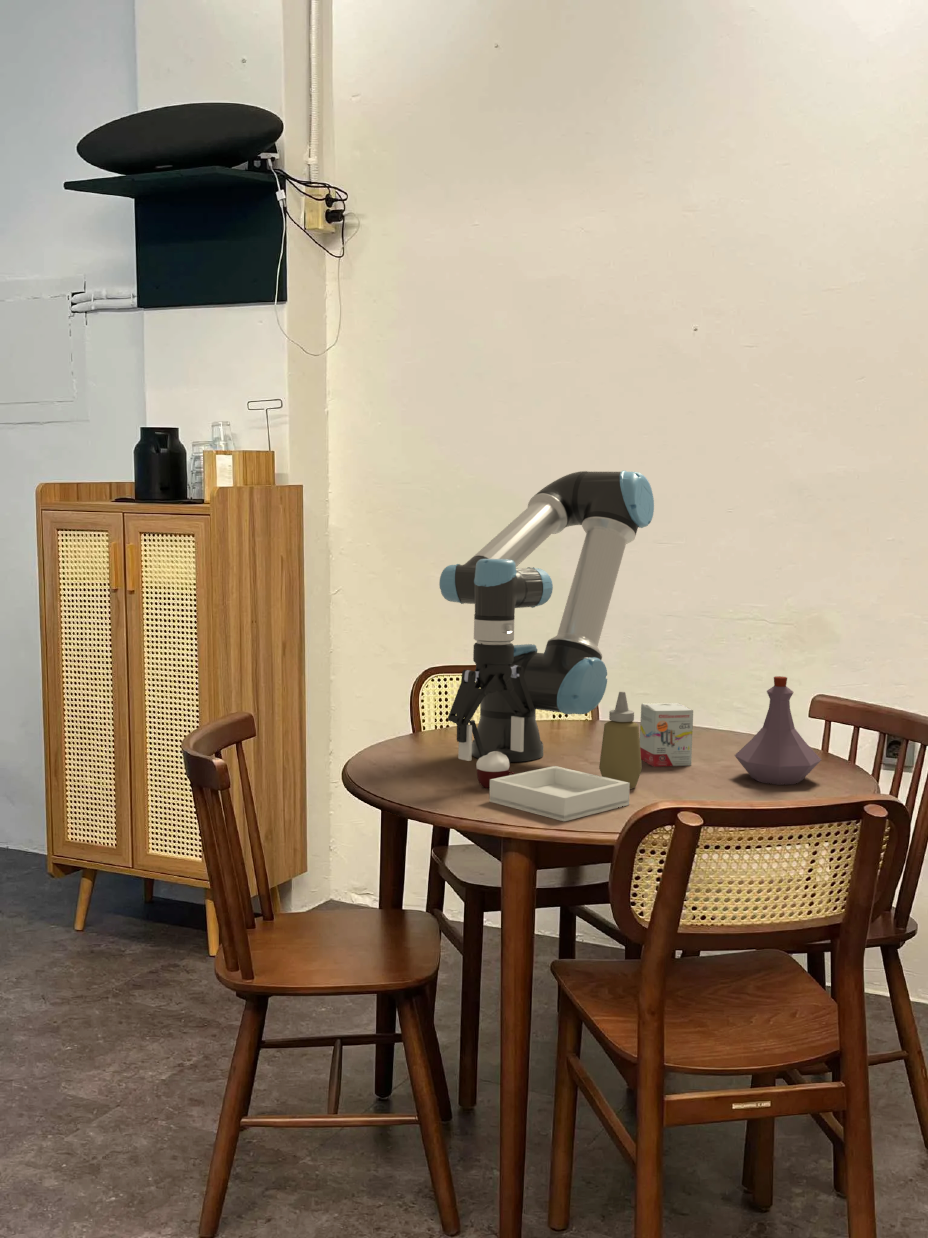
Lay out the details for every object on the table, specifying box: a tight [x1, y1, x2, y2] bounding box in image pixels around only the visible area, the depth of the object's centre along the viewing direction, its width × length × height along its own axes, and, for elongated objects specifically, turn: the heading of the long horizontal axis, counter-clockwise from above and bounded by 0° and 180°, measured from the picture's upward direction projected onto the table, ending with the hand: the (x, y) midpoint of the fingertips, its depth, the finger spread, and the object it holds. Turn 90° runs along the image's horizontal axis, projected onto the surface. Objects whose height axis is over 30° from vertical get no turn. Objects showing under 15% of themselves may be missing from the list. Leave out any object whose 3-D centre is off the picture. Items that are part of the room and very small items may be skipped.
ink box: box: [639, 702, 694, 768], centre depth 257 cm, size 9×9×12 cm
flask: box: [734, 675, 822, 786], centre depth 241 cm, size 16×16×20 cm
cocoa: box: [469, 719, 516, 790], centre depth 234 cm, size 10×6×12 cm, turn 38°
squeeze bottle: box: [598, 691, 643, 790], centre depth 234 cm, size 8×8×18 cm
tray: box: [489, 765, 630, 822], centre depth 222 cm, size 17×18×4 cm
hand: (491, 755), depth 233 cm, fingers open, 13 cm apart
